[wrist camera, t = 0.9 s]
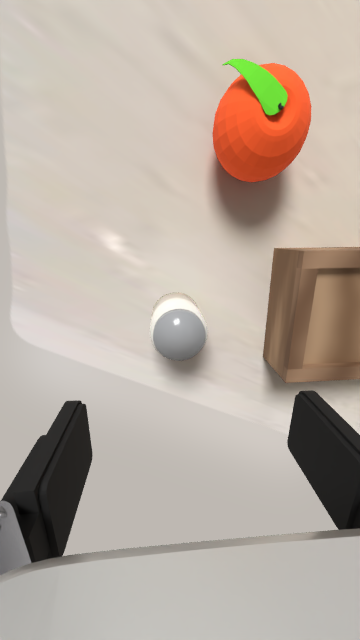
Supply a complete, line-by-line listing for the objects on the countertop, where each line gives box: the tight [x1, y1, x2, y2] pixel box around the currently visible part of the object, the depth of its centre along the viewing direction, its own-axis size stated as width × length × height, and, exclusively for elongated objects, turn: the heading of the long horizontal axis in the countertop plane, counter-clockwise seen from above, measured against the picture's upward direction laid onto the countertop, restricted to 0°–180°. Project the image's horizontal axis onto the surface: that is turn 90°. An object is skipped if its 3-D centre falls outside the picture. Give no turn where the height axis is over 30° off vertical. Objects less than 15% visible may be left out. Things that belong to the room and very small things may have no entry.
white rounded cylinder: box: [150, 293, 208, 361], centre depth 23 cm, size 5×5×6 cm
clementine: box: [213, 59, 311, 182], centre depth 18 cm, size 8×7×7 cm
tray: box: [263, 247, 360, 383], centre depth 25 cm, size 12×12×6 cm
